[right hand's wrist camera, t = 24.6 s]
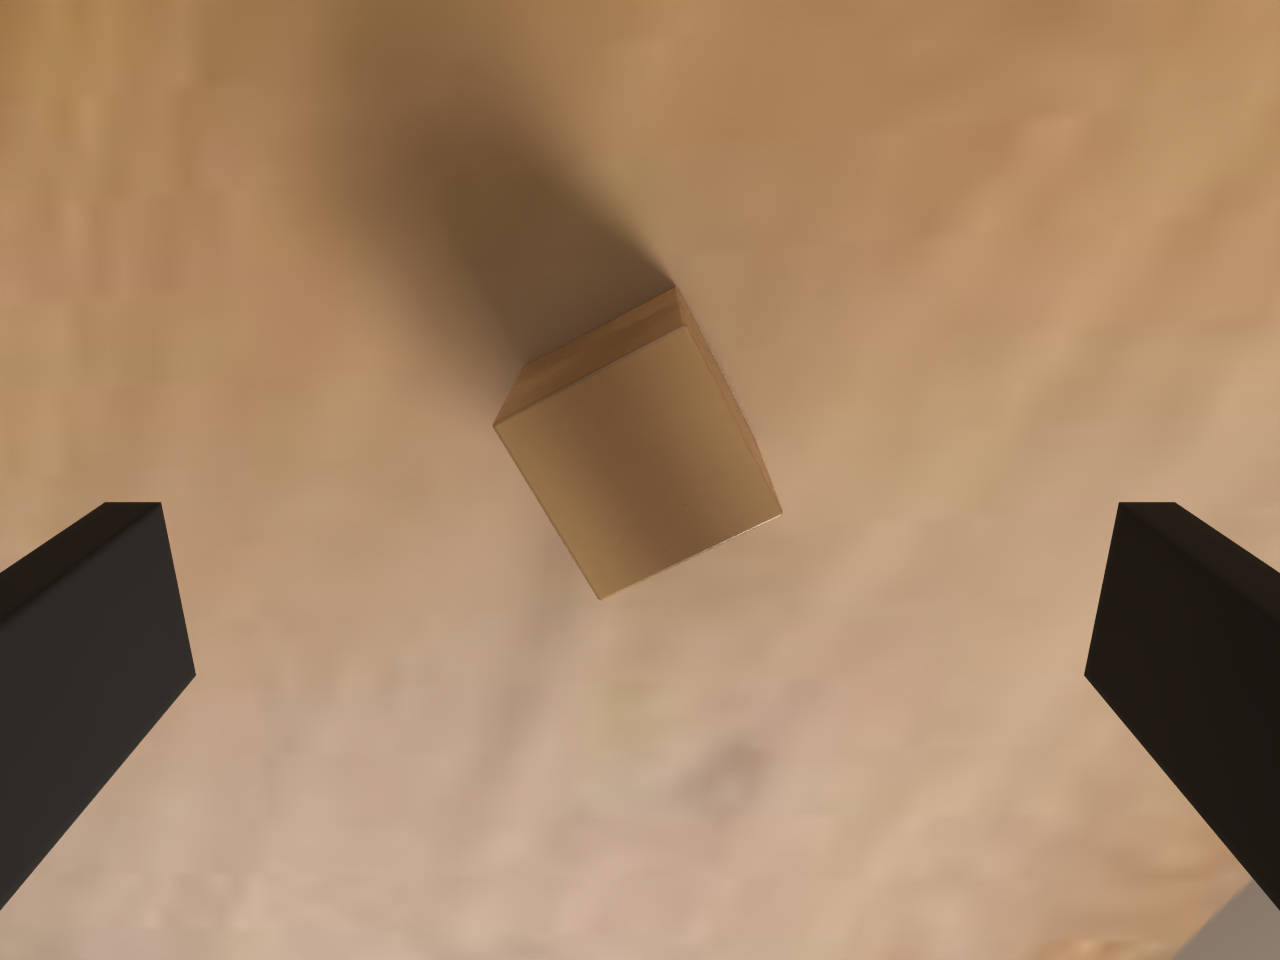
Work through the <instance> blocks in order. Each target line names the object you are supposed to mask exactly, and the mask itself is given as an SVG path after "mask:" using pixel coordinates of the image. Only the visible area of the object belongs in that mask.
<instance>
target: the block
mask: <svg viewBox="0 0 1280 960" xmlns="http://www.w3.org/2000/svg"><path fill="white" fill-rule="evenodd" d="M493 428H494V430H495V431H496V433H497V434H498V436H499V438H500V439H501V441H502V443H503V444H504V446H505V448H506V449H507V451H508V452H509V454H510V456H511V457H512V459H513V461H514V462H515V464H516V466H517V467H518V469H519V470H520V472H521V474H522V475H523V477H524V479H525V480H526V482H527V484H528V485H529V487H530V488H531V490H532V492H533V493H534V495H535V497H536V498H537V500H538V502H539V503H540V505H541V506H542V508H543V510H544V511H545V513H546V515H547V516H548V518H549V520H550V521H551V523H552V524H553V526H554V528H555V529H556V531H557V533H558V534H559V536H560V537H561V539H562V541H563V542H564V544H565V546H566V547H567V549H568V551H569V552H570V554H571V555H572V557H573V559H574V560H575V562H576V564H577V565H578V567H579V569H580V570H581V572H582V573H583V575H584V577H585V578H586V580H587V582H588V583H589V585H590V587H591V588H592V590H593V591H594V593H595V595H596V596H597V598H598V599H599V600H604V599H606V598H608V597H610V596H612V595H614V594H616V593H618V592H621V591H623V590H625V589H627V588H629V587H631V586H633V585H635V584H638V583H640V582H642V581H644V580H646V579H648V578H650V577H652V576H654V575H657V574H659V573H661V572H663V571H665V570H667V569H669V568H671V567H674V566H676V565H678V564H680V563H682V562H684V561H686V560H688V559H690V558H693V557H695V556H697V555H699V554H701V553H703V552H705V551H707V550H710V549H712V548H714V547H716V546H718V545H720V544H722V543H724V542H727V541H729V540H731V539H733V538H735V537H737V536H739V535H741V534H743V533H746V532H748V531H750V530H752V529H754V528H756V527H758V526H760V525H763V524H765V523H767V522H769V521H771V520H773V519H775V518H777V517H779V516H781V515H782V509H781V506H780V503H779V501H778V498H777V495H776V493H775V490H774V487H773V485H772V482H771V479H770V477H769V474H768V471H767V469H766V466H765V463H764V461H763V458H762V455H761V453H760V450H759V447H758V445H757V442H756V440H755V438H754V436H753V434H752V432H751V430H750V428H749V426H748V424H747V422H746V420H745V418H744V416H743V414H742V412H741V410H740V408H739V406H738V404H737V402H736V400H735V398H734V396H733V394H732V392H731V390H730V388H729V386H728V384H727V383H726V381H725V379H724V377H723V375H722V373H721V371H720V369H719V367H718V365H717V363H716V361H715V359H714V357H713V355H712V353H711V351H710V349H709V347H708V345H707V343H706V341H705V339H704V337H703V335H702V333H701V331H700V329H699V327H698V325H697V323H696V321H695V320H694V318H693V316H692V314H691V312H690V310H689V308H688V306H687V304H686V302H685V300H684V298H683V296H682V294H681V292H680V290H679V288H677V287H674V288H672V289H670V290H668V291H666V292H664V293H662V294H660V295H659V296H657V297H655V298H653V299H651V300H649V301H647V302H645V303H643V304H642V305H640V306H638V307H636V308H634V309H632V310H630V311H628V312H627V313H625V314H623V315H621V316H619V317H617V318H615V319H613V320H611V321H610V322H608V323H606V324H604V325H602V326H600V327H598V328H596V329H594V330H593V331H591V332H589V333H587V334H585V335H583V336H581V337H579V338H577V339H576V340H574V341H572V342H570V343H568V344H566V345H564V346H562V347H561V348H559V349H557V350H555V351H553V352H551V353H549V354H547V355H545V356H544V357H542V358H540V359H538V360H536V361H534V362H532V363H530V364H528V365H527V366H525V367H524V368H523V369H522V371H521V373H520V375H519V376H518V378H517V380H516V382H515V384H514V386H513V388H512V389H511V391H510V393H509V395H508V397H507V399H506V401H505V402H504V404H503V406H502V408H501V410H500V412H499V414H498V415H497V417H496V419H495V421H494V423H493Z"/></svg>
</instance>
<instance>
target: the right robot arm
mask: <svg viewBox="0 0 1280 960" xmlns="http://www.w3.org/2000/svg"><path fill="white" fill-rule="evenodd" d="M195 676H196V673H195V668H194V663H193V658H192V653H191V648H190V644H189V639H188V634H187V629H186V624H185V619H184V614H183V609H182V604H181V599H180V594H179V589H178V584H177V579H176V574H175V569H174V564H173V559H172V554H171V549H170V544H169V539H168V534H167V530H166V525H165V520H164V515H163V510H162V505H161V502H105V503H103V504H102V505H100V506H99V507H97V508H96V509H94V510H93V511H91V512H90V513H89V514H87V515H86V516H84V517H83V518H81V519H80V520H78V521H77V522H75V523H74V524H72V525H71V526H69V527H68V528H66V529H65V530H63V531H62V532H60V533H59V534H57V535H56V536H54V537H53V538H51V539H50V540H48V541H47V542H45V543H44V544H43V545H41V546H40V547H38V548H37V549H35V550H34V551H32V552H31V553H29V554H28V555H26V556H25V557H23V558H22V559H20V560H19V561H17V562H16V563H14V564H13V565H11V566H10V567H8V568H7V569H5V570H4V571H2V572H1V573H0V910H1V909H2V908H3V907H4V905H5V904H6V903H7V902H8V901H9V899H10V898H11V897H12V896H13V895H14V893H15V892H16V891H17V890H18V889H19V887H20V886H21V885H22V884H23V883H24V881H25V880H26V879H27V878H28V877H29V875H30V874H31V873H32V872H33V870H34V869H35V868H36V867H37V866H38V864H39V863H40V862H41V861H42V860H43V858H44V857H45V856H46V855H47V854H48V852H49V851H50V850H51V849H52V848H53V846H54V845H55V844H56V843H57V842H58V840H59V839H60V838H61V837H62V836H63V834H64V833H65V832H66V831H67V830H68V828H69V827H70V826H71V825H72V824H73V822H74V821H75V820H76V819H77V818H78V816H79V815H80V814H81V813H82V812H83V810H84V809H85V808H86V807H87V806H88V804H89V803H90V802H91V801H92V800H93V798H94V797H95V796H96V795H97V794H98V792H99V791H100V790H101V789H102V788H103V786H104V785H105V784H106V783H107V782H108V780H109V779H110V778H111V777H112V776H113V774H114V773H115V772H116V771H117V770H118V768H119V767H120V766H121V765H122V764H123V762H124V761H125V760H126V759H127V758H128V756H129V755H130V754H131V753H132V752H133V750H134V749H135V748H136V747H137V746H138V744H139V743H140V742H141V741H142V740H143V738H144V737H145V736H146V735H147V733H148V732H149V731H150V730H151V729H152V727H153V726H154V725H155V724H156V723H157V721H158V720H159V719H160V718H161V717H162V715H163V714H164V713H165V712H166V711H167V709H168V708H169V707H170V706H171V705H172V703H173V702H174V701H175V700H176V699H177V697H178V696H179V695H180V694H181V693H182V691H183V690H184V689H185V688H186V687H187V685H188V684H189V683H190V682H191V681H192V679H193V678H194V677H195ZM1084 676H1085V677H1086V678H1087V679H1088V681H1089V682H1090V683H1091V684H1092V685H1093V687H1094V688H1095V689H1096V690H1097V691H1098V693H1099V694H1100V695H1101V696H1102V697H1103V699H1104V700H1105V701H1106V702H1107V703H1108V705H1109V706H1110V707H1111V708H1112V709H1113V711H1114V712H1115V713H1116V714H1117V715H1118V717H1119V718H1120V719H1121V720H1122V721H1123V723H1124V724H1125V725H1126V726H1127V727H1128V729H1129V730H1130V731H1131V732H1132V734H1133V735H1134V736H1135V737H1136V738H1137V740H1138V741H1139V742H1140V743H1141V744H1142V746H1143V747H1144V748H1145V749H1146V750H1147V752H1148V753H1149V754H1150V755H1151V756H1152V758H1153V759H1154V760H1155V761H1156V762H1157V764H1158V765H1159V766H1160V767H1161V768H1162V770H1163V771H1164V772H1165V773H1166V774H1167V776H1168V777H1169V778H1170V779H1171V780H1172V782H1173V783H1174V784H1175V785H1176V786H1177V788H1178V789H1179V790H1180V791H1181V792H1182V794H1183V795H1184V796H1185V797H1186V798H1187V800H1188V801H1189V802H1190V803H1191V804H1192V806H1193V807H1194V808H1195V809H1196V810H1197V812H1198V813H1199V814H1200V815H1201V816H1202V818H1203V819H1204V820H1205V821H1206V822H1207V824H1208V825H1209V826H1210V827H1211V828H1212V830H1213V831H1214V832H1215V833H1216V834H1217V836H1218V837H1219V838H1220V839H1221V840H1222V842H1223V843H1224V844H1225V845H1226V846H1227V848H1228V849H1229V850H1230V851H1231V852H1232V854H1233V855H1234V856H1235V857H1236V858H1237V860H1238V861H1239V862H1240V863H1241V864H1242V866H1243V867H1244V868H1245V869H1246V870H1247V872H1248V873H1249V874H1250V875H1251V877H1252V878H1253V879H1254V880H1255V881H1256V883H1257V884H1258V885H1259V886H1260V887H1261V888H1262V890H1263V891H1264V892H1265V893H1266V895H1267V896H1268V897H1269V898H1270V899H1271V901H1272V902H1273V903H1274V904H1275V905H1276V907H1277V908H1278V909H1279V910H1280V573H1279V572H1278V571H1276V570H1275V569H1273V568H1272V567H1270V566H1269V565H1267V564H1266V563H1264V562H1263V561H1261V560H1260V559H1258V558H1257V557H1255V556H1254V555H1252V554H1251V553H1249V552H1248V551H1246V550H1245V549H1243V548H1242V547H1240V546H1239V545H1237V544H1236V543H1235V542H1233V541H1232V540H1230V539H1229V538H1227V537H1226V536H1224V535H1223V534H1221V533H1220V532H1218V531H1217V530H1215V529H1214V528H1212V527H1211V526H1209V525H1208V524H1206V523H1205V522H1203V521H1202V520H1200V519H1199V518H1197V517H1196V516H1194V515H1193V514H1191V513H1190V512H1189V511H1187V510H1186V509H1184V508H1183V507H1181V506H1180V505H1178V504H1177V503H1175V502H1119V505H1118V510H1117V515H1116V520H1115V525H1114V530H1113V534H1112V539H1111V544H1110V549H1109V554H1108V559H1107V564H1106V569H1105V574H1104V579H1103V584H1102V589H1101V594H1100V599H1099V604H1098V609H1097V614H1096V619H1095V624H1094V629H1093V634H1092V639H1091V644H1090V648H1089V653H1088V658H1087V663H1086V668H1085V673H1084Z"/></svg>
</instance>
